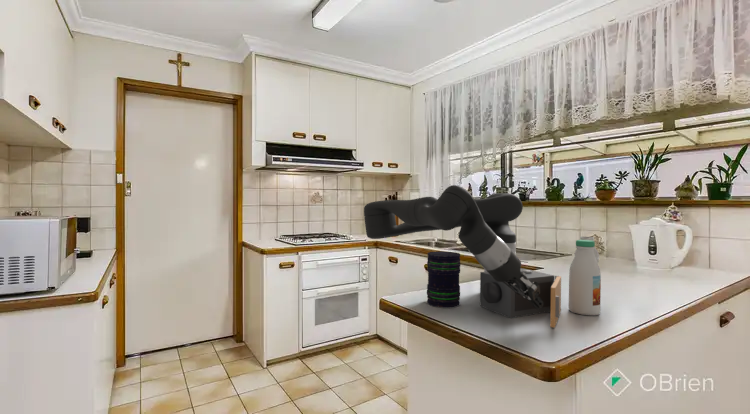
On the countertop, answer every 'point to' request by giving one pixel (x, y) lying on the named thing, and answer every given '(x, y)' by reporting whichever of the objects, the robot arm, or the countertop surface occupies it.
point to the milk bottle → (584, 280)
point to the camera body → (514, 295)
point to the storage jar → (443, 279)
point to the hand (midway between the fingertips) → (540, 306)
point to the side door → (555, 301)
